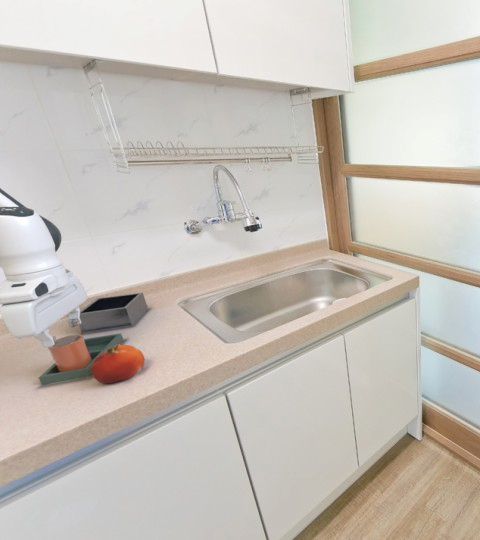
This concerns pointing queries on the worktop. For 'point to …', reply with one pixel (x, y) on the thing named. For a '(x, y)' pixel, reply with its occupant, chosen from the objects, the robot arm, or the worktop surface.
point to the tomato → (117, 364)
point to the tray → (95, 349)
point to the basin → (112, 313)
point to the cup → (70, 353)
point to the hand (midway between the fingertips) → (64, 334)
